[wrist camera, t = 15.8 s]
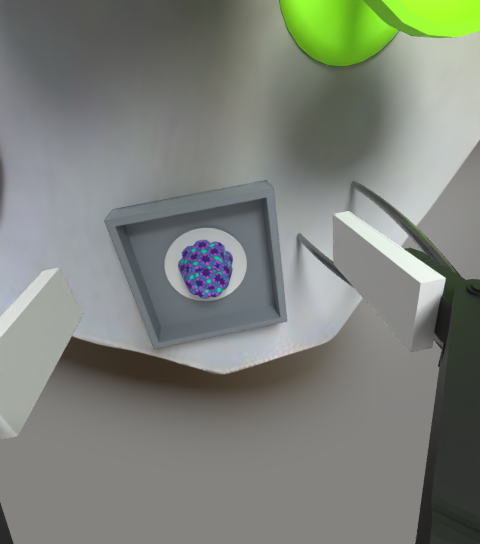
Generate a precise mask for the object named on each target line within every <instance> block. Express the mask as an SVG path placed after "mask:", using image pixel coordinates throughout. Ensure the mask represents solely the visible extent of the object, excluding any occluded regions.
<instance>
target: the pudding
mask: <svg viewBox="0 0 480 544" xmlns="http://www.w3.org/2000/svg"><path fill="white" fill-rule="evenodd" d="M246 268H247V259H246V255H245V252H244V250H243V248H242V246H241V245H240V243H239V242H238V241H237V240H236V239H235V238H234V237H232V236H231V235H229V234H228V233H226V232H223V231H221V230H217V229H213V228H199V229H195V230H191V231H189V232H186V233H184V234H183V235H181V236H180V237H178V238H177V239H176V240H175V241H174V242H173V243H172V245H171V246H170V248H169V249H168V251H167V254H166V257H165V273H166V276H167V279H168V281H169V282H170V284H171V285H172V286H173V288H174V289H175V290H176V291H178V292H179V293H180V294H182V295H184V296H185V297H187V298H190V299H193V300H198V301H212V300H217V299H220V298H223V297H225V296H227V295H229V294H230V293H232V292H233V291H234V290H235V289H236V288H237V287H238V286H239V285H240V284H241V282H242V280H243V278H244V276H245V273H246Z"/></svg>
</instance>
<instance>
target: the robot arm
mask: <svg viewBox="0 0 480 544" xmlns="http://www.w3.org/2000/svg"><path fill="white" fill-rule="evenodd" d="M333 258H334V265H335V266H336V267H337V269H338V270H339V271H340V272H341V273H342V274H343V276H344V277H345V278H346V279H347V280H348V281H349V282H350V284H351V285H352V286H353V287H354V288H355V289H356V291H357V292H358V293H359V294H360V295H361V296H362V297H363V299H364V300H365V301H366V302H367V303H368V304H369V305H370V306H371V308H372V309H373V310H374V311H375V312H376V313H377V315H378V316H379V317H380V318H381V319H382V320H383V322H384V323H385V324H386V325H387V326H388V327H389V329H390V330H391V331H392V332H393V333H394V334H395V335H396V337H397V338H398V339H399V340H400V341H401V342H402V344H403V345H404V346H405V347H406V348H407V349H408V350H409V352H415V351H420V350H424V349H429V348H432V346H433V341H434V336H435V334H436V335H437V336H438V337H439V338H440V339H441V340H442V341H443V346H442V351H441V356H440V360H439V365H438V366H439V375H438V381H437V390H436V396H435V403H434V411H433V418H432V426H431V433H430V440H429V448H428V455H427V462H426V470H425V477H424V485H423V492H422V499H421V506H420V514H419V521H418V529H417V536H416V543H415V544H480V280H478V279H470V280H465V279H464V278H462V277H461V276H459V275H458V274H456V273H455V272H453V271H451V270H450V269H448V268H447V267H445V266H444V265H441V264H440V263H439V262H437V261H436V260H433V258H431V257H430V256H428V255H427V254H425V253H424V252H421V251H418V250H415V249H412V248H407V249H402V248H401V247H400V246H399V245H397V244H396V243H394V242H393V241H391V240H390V239H388V238H387V237H385V236H384V235H383V234H381V233H380V232H378V231H377V230H375V229H374V228H372V227H371V226H370V225H368V224H367V223H365V222H364V221H362V220H361V219H359V218H358V217H357V216H355V215H354V214H352V213H351V212H349V211H346V212H341V213H336V214H333ZM82 316H83V313H82V311H81V309H80V307H79V305H78V303H77V301H76V299H75V297H74V295H73V293H72V291H71V289H70V287H69V285H68V283H67V281H66V279H65V277H64V275H63V273H62V271H61V269H60V267H59V268H54V269H48V270H43V271H42V272H41V273H40V275H39V276H38V277H37V278H36V279H35V280H34V281H33V282H32V283H31V284H30V285H29V286H28V288H27V289H26V290H25V291H24V292H23V293H22V294H21V295H20V296H19V297H18V298H17V299H16V300H15V302H14V303H13V304H12V305H11V306H10V307H9V308H8V309H7V310H6V311H5V312H4V313H3V315H2V316H1V317H0V440H1V439H6V438H11V437H16V436H18V435H19V433H20V431H21V429H22V427H23V425H24V424H25V422H26V420H27V418H28V416H29V414H30V413H31V411H32V409H33V407H34V405H35V403H36V401H37V399H38V398H39V396H40V394H41V392H42V390H43V388H44V387H45V385H46V383H47V381H48V379H49V377H50V375H51V374H52V372H53V370H54V368H55V366H56V364H57V362H58V361H59V359H60V357H61V355H62V353H63V351H64V349H65V347H66V346H67V344H68V342H69V340H70V338H71V336H72V335H73V333H74V331H75V329H76V327H77V325H78V323H79V322H80V320H81V318H82ZM0 544H13V541H12V538H11V534H10V531H9V528H8V525H7V522H6V519H5V516H4V513H3V510H2V506H1V503H0Z"/></svg>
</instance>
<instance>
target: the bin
mask: <svg viewBox="0 0 480 544" xmlns="http://www.w3.org/2000/svg"><path fill="white" fill-rule="evenodd" d="M104 222H105V224H106V227H107V229H108V232H109V234H110V237H111V239H112V242H113V245H114V247H115V250H116V252H117V255H118V257H119V260H120V263H121V265H122V268H123V270H124V273H125V275H126V278H127V280H128V283H129V286H130V288H131V291H132V293H133V296H134V298H135V301H136V304H137V306H138V309H139V311H140V314H141V316H142V319H143V321H144V324H145V327H146V329H147V332H148V334H149V337H150V339H151V342H152V345H153V347H154V349H156V348H161V347H166V346H171V345H176V344H181V343H185V342H190V341H195V340H200V339H205V338H210V337H214V336H219V335H224V334H229V333H234V332H239V331H244V330H248V329H253V328H258V327H263V326H268V325H273V324H277V323H282V322H287V314H286V304H285V294H284V284H283V275H282V265H281V255H280V246H279V236H278V226H277V216H276V207H275V197H274V188H273V187H272V186H271V185H270V184H269V183H268V182H267V181H266V180H265V181H260V182H255V183H249V184H244V185H239V186H234V187H228V188H223V189H218V190H213V191H207V192H202V193H197V194H192V195H186V196H181V197H176V198H170V199H165V200H160V201H155V202H149V203H144V204H139V205H134V206H128V207H123V208H118V209H113V210H112V211H111V212H110V214H109V215H108V216H107V217H106V219H105V220H104ZM199 228H213V229H217V230H221V231H223V232H226V233H228V234H229V235H231V236H232V237H234V238H235V239H236V240H237V241H238V242H239V243H240V245H241V246H242V248H243V250H244V252H245V255H246V259H247V268H246V273H245V276H244V278H243V280H242V282H241V284H240V285H239V286H238V287H237V288H236V289H235V290H234V291H233V292H232V293H230V294H229V295H227V296H225V297H223V298H220V299H217V300H212V301H198V300H193V299H190V298H187V297H185V296H184V295H182V294H180V293H179V292H178V291H176V290H175V289H174V288H173V286H172V285H171V284H170V282H169V281H168V279H167V276H166V273H165V257H166V254H167V251H168V249H169V248H170V246H171V245H172V243H173V242H174V241H175V240H176V239H177V238H178V237H180V236H181V235H183V234H184V233H186V232H189V231H191V230H195V229H199Z"/></svg>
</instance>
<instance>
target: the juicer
mask: <svg viewBox="0 0 480 544" xmlns="http://www.w3.org/2000/svg"><path fill="white" fill-rule="evenodd" d="M352 186H353V187H354V188H356V189H357V190H358V191H360V192H361V193H363V194H364V195H365V196H367V197H368V198H369V199H370V200H372V201H373V202H374V203H375V204H376V205H378V206H379V207H380V208H381V209H382V210H383V211H385V212H386V213H387V214H388V215H389V216H390V217H391V218H392V219H393V220H394V221H395V222H396V223H397V224H398V225H399V226H400V227H401V228H402V229H403V230H404V231H405V232H406V233H407V234H408V235H409V236H410V237H411V238H412V240H413V241H414V242H415V243H416V244H417V245H418V246H419V248H420V249H421V250H422V251H423V252H424V253H425V254H427V255H428V256H430V257H431V258H433V260H436V261H437V262H439V263H440V264H441V265H444V266H445V267H447V268H448V269H450V270H451V271H453V272H455V273H456V274H458V275H459V273H458V272H457V271H456V270H455V268H454V267H453V266H452V265H451V264H450V262H449V261H448V260H447V259H446V258H445V257H444V256H443V254H442V253H441V252H440V251H439V250H438V249H437V248H436V247H435V246H434V244H433V243H432V242H431V241H430V240H429V239H428V238H427V237H426V236H425V235H424V234H423V233H422V232H421V231H420V230H419V229H418V228H417V227H416V226H415V225H414V224H413V223H412V222H411V221H409V220H408V219H407V218H406V217H405V216H404V215H403V214H402V213H400V212H399V211H398V210H397V209H396V208H394V207H393V206H392V205H391V204H389V203H388V202H387V201H385V200H384V199H383V198H381V197H380V196H378V195H377V194H376V193H374V192H373V191H371V190H369V189H368V188H366V187H364V186H363V185H361V184H359V183H357V182H355V181H354V182H352ZM297 237H298V239H299V240H300V241H301V242H302V243H303V244H304V246H305V247H306V248H307V249H308V250H309V251H310V252H311V253H312V254H313V255H314V256H315V257H316V258H317V259H318V260H320V261H321V262H322V263H323V264H324V265H325V266H326V267H327V268H329V269H330V270H331V271H332V272H333V273H335V274H336V275H337V276H339V277H340V278H341V279H342V280H344V281H345V282H346V283H348V284H349V285H350V286H352V285H351V284H350V282H349V281H348V280H347V279H346V278H345V277H344V276H343V274H342V273H341V272H340V271H339V270H338V269H337V267H336V266H335V265H334V262H333V261H332V260H330V259H329V258H328V257H327V256H325V255H324V254H323V253H322V252H320V251H319V250H318V249H317V248H316V247H315V246H313V245H312V244H311V243H310V242H309V241H308V240H307V239H306V238H305V237H304V236H303V235H302V234H298V235H297ZM459 276H460V275H459ZM352 287H353V286H352ZM353 288H354V287H353ZM434 341H436V343H437V344H438V346H439V347H440V348H441V349H442V346H443V341H442V340H441V339H440V338H439V337H438V336H437V335H436V334H435V336H434Z"/></svg>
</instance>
